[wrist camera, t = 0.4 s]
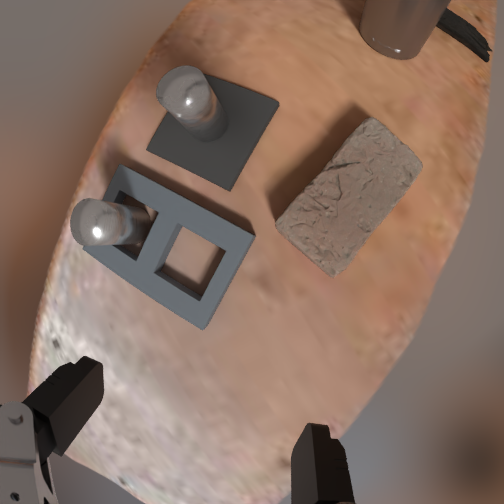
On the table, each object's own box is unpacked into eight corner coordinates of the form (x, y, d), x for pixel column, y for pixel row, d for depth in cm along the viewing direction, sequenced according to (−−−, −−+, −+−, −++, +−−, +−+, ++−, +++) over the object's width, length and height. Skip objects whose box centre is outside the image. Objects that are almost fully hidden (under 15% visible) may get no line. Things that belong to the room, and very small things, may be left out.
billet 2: (203, 102, 33) (173, 60, 23) (235, 115, 32) (214, 73, 22) (183, 133, 33) (147, 100, 23) (216, 148, 33) (187, 115, 23)
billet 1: (129, 201, 36) (81, 191, 26) (157, 217, 35) (111, 210, 25) (115, 233, 36) (64, 232, 26) (141, 250, 36) (93, 254, 26)
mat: (196, 74, 34) (194, 70, 33) (279, 105, 33) (278, 102, 32) (149, 151, 35) (146, 149, 34) (230, 191, 34) (228, 190, 33)
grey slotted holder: (127, 166, 35) (119, 163, 34) (256, 236, 34) (253, 235, 32) (91, 248, 37) (82, 248, 35) (207, 325, 35) (202, 330, 33)
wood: (491, 42, 27) (499, 34, 24) (488, 67, 28) (497, 58, 25) (379, -24, 29) (382, -35, 26) (367, -6, 30) (370, -18, 27)
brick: (362, 124, 32) (371, 108, 27) (415, 170, 31) (430, 162, 26) (273, 227, 34) (270, 225, 29) (329, 276, 33) (335, 282, 29)
